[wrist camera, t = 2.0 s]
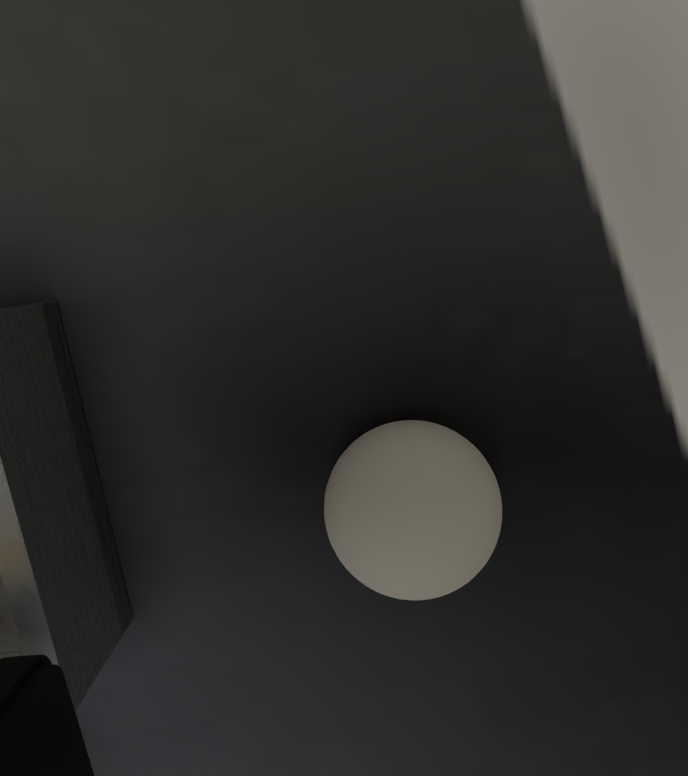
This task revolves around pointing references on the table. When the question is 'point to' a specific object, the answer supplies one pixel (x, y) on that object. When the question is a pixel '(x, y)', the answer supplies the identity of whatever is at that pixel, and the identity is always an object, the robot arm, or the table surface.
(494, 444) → the table surface
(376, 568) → the light grey ball
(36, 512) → the white open box
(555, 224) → the table surface
